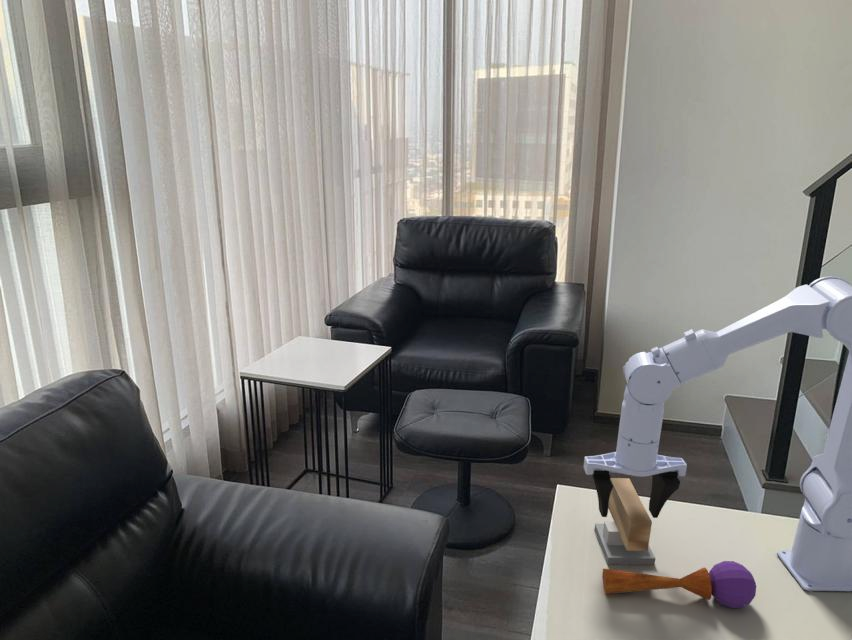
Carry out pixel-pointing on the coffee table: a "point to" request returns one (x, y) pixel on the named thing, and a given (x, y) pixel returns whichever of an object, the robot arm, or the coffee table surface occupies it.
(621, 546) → the balance stand
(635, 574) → the kendama
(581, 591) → the coffee table surface
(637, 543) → the oak bar
